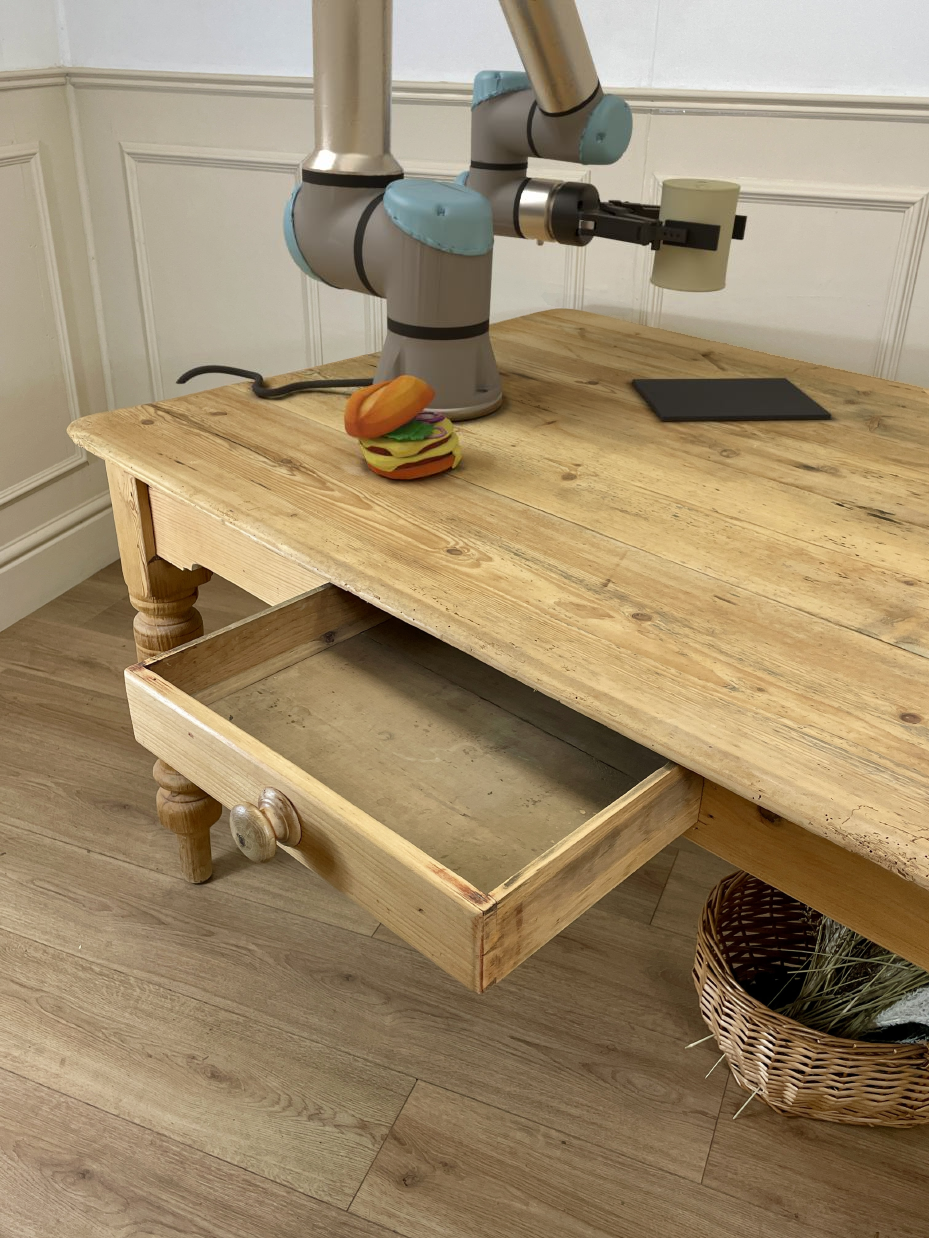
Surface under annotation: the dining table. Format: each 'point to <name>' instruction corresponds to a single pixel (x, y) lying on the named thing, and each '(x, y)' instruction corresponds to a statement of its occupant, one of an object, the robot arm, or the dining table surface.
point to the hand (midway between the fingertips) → (731, 233)
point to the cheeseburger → (401, 429)
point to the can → (699, 206)
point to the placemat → (728, 399)
